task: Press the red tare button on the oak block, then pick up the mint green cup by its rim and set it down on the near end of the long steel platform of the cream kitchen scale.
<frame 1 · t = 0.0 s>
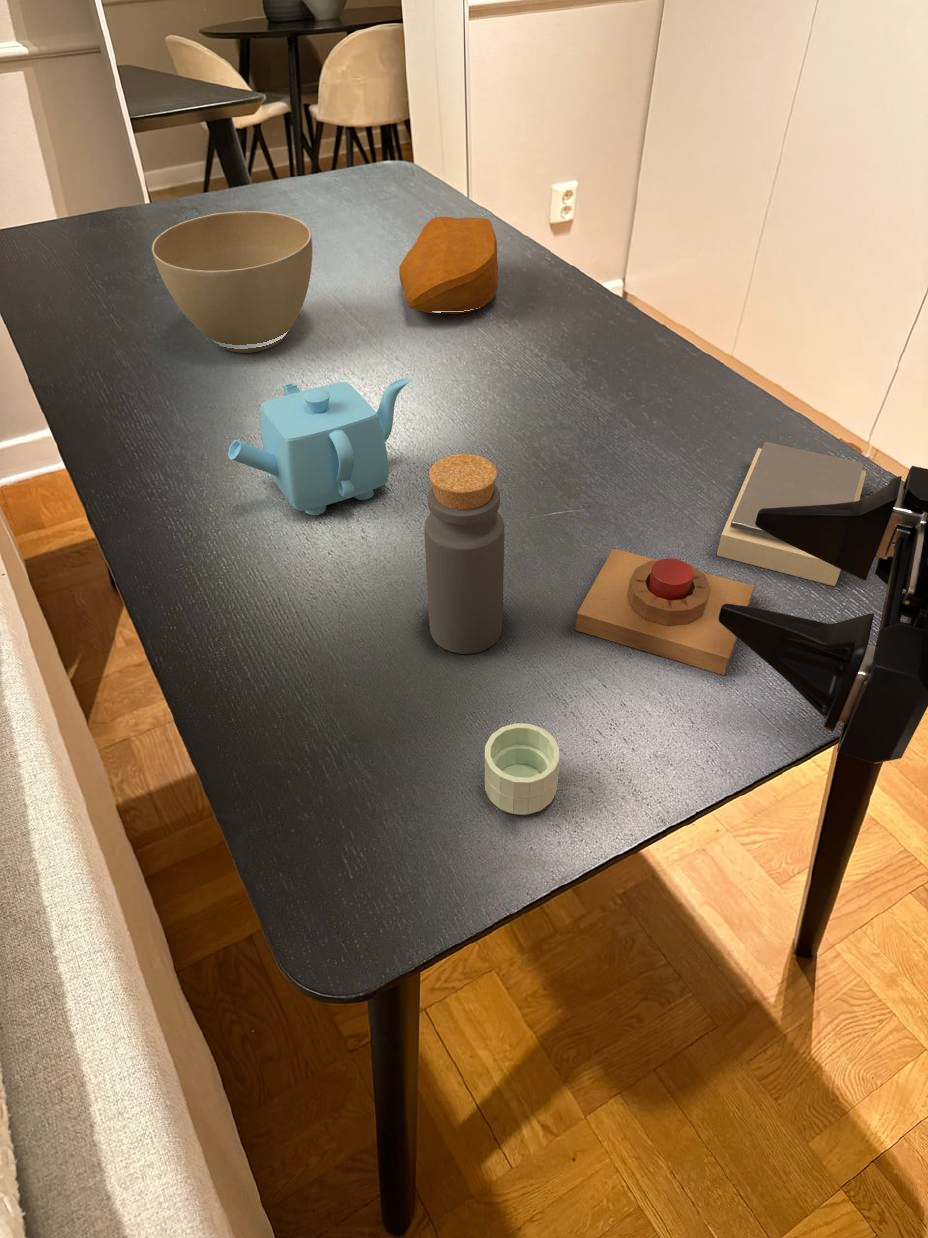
hand: (739, 561, 50), 17 cm above the table, tool horizontal, fingers open, 9 cm apart
bread: (445, 299, 118), on the table
tare button: (670, 579, 69), point 4 cm above the table, slide at 0.1 cm
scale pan: (799, 493, 79), point 3 cm above the table, slide at 0.0 cm
scale: (790, 522, 81), on the table
mint green cup: (520, 789, 60), on the table
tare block: (663, 616, 72), on the table
teapot: (328, 485, 87), on the table
flower pot: (251, 339, 110), on the table
bottle: (466, 631, 72), on the table
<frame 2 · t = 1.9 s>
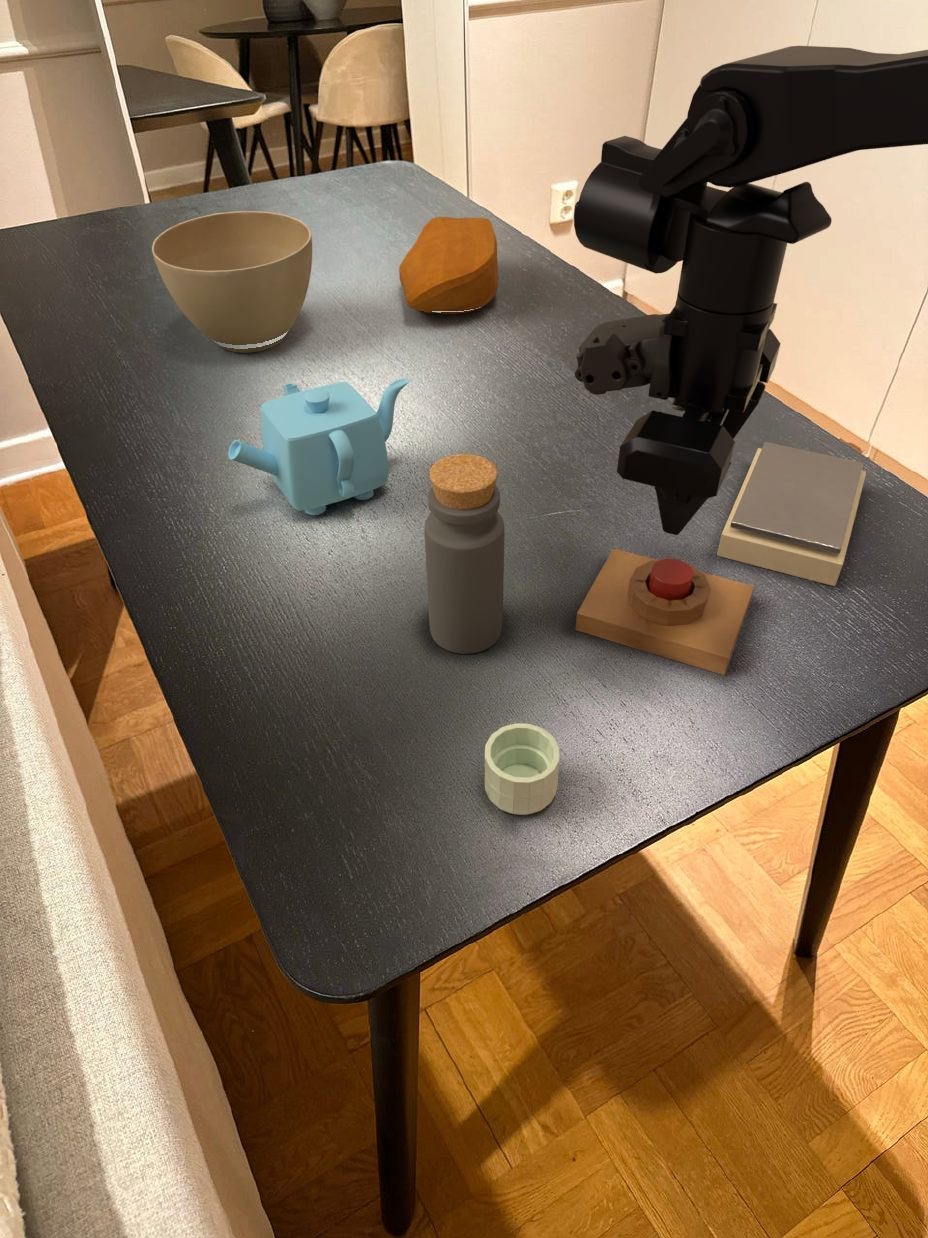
hand: (684, 504, 65), 11 cm above the table, tool pointing down, fingers open, 7 cm apart
nothing on the table moved.
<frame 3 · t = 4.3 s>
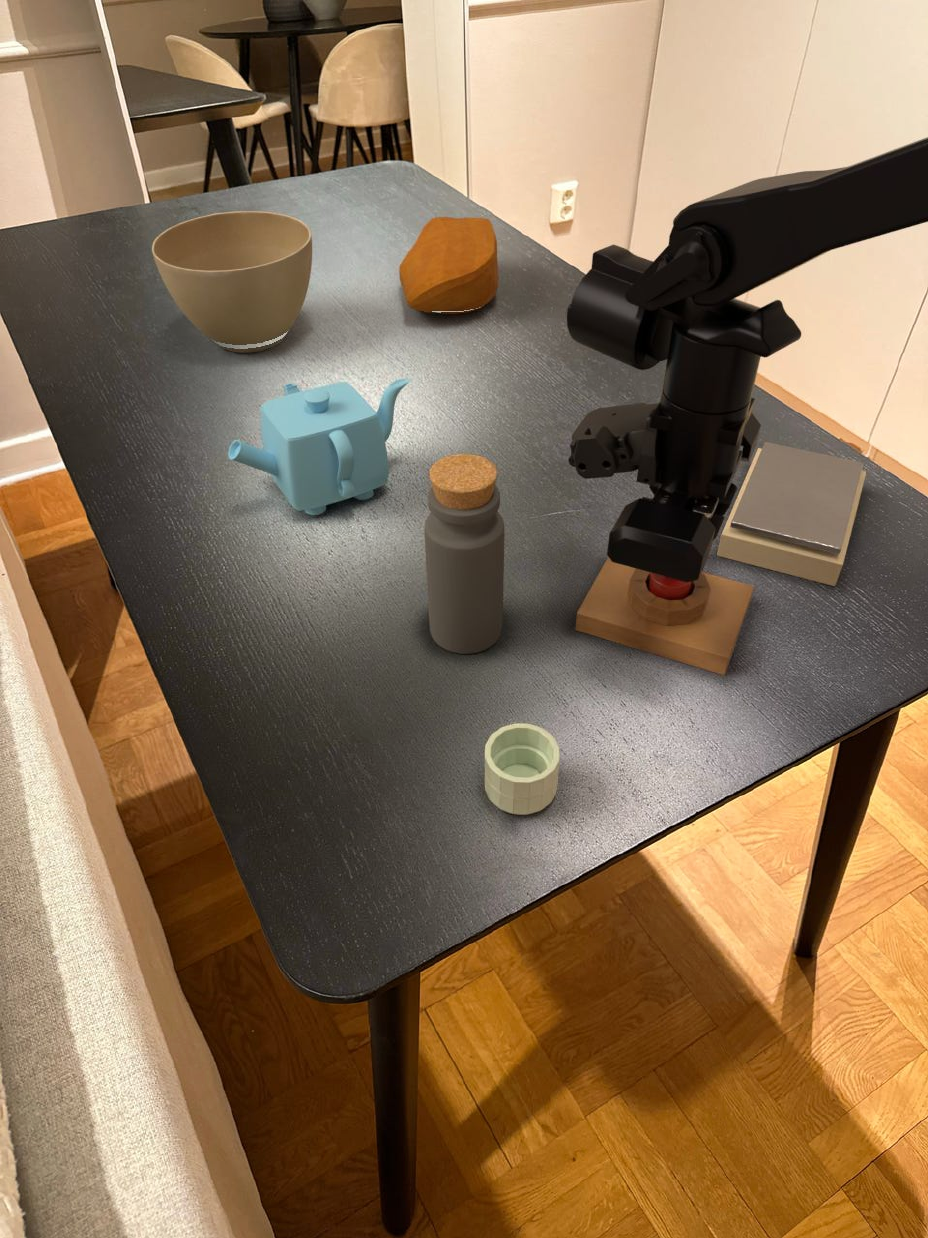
hand: (672, 574, 69), 5 cm above the table, tool pointing down, fingers closed, pressing on tare button
tare button: (670, 582, 70), point 4 cm above the table, slide at -0.2 cm, touching gripper
everything else where it was.
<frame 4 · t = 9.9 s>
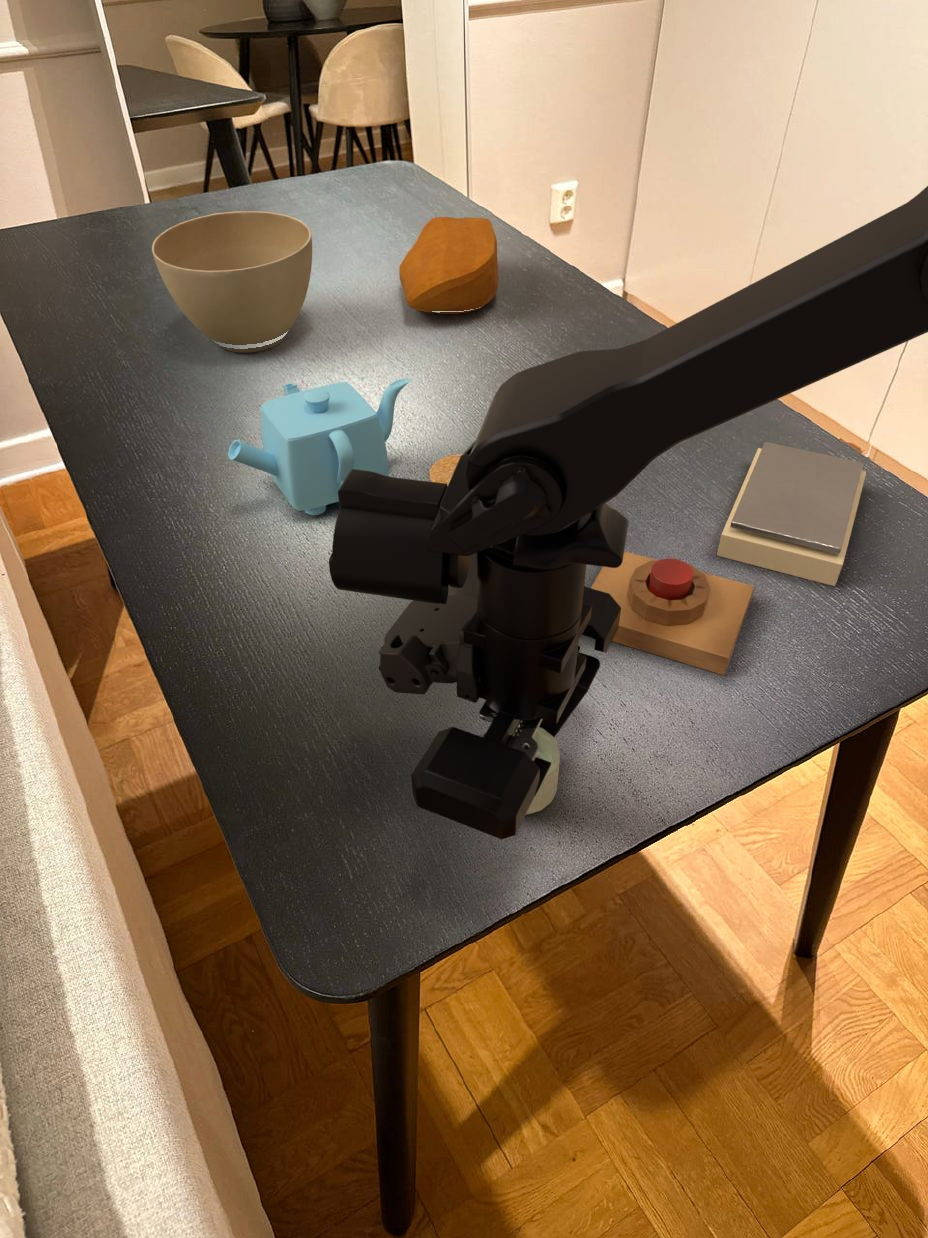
hand: (521, 777, 59), 1 cm above the table, tool pointing down, fingers closed on mint green cup, 5 cm apart
tare button: (670, 579, 69), point 4 cm above the table, slide at 0.1 cm
mint green cup: (520, 789, 60), on the table, touching gripper
everything else where it was.
when the fingers open (5 cm above the table, at t = 15.8 s): mint green cup stays where it is, resting on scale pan.
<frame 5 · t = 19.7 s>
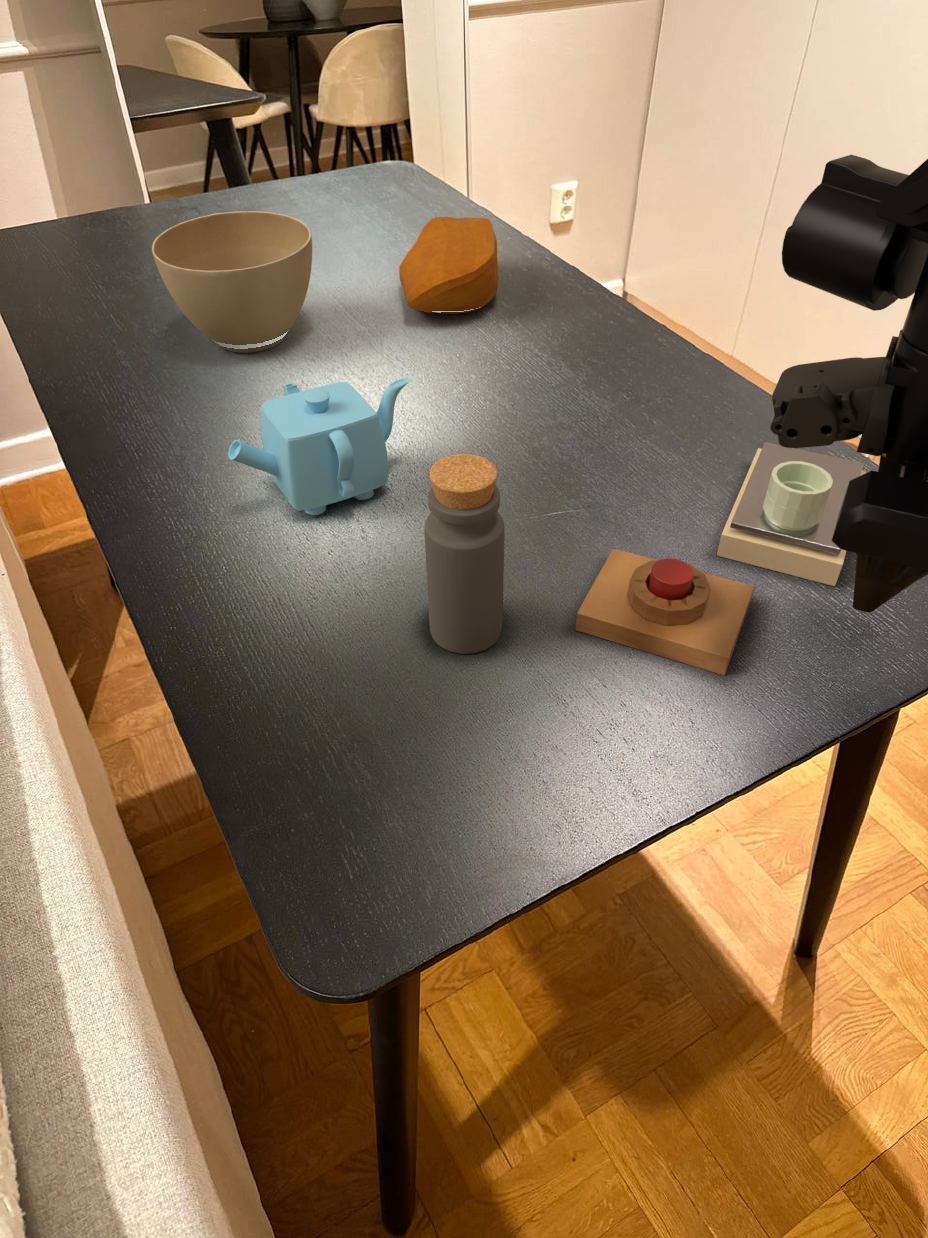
hand: (871, 566, 58), 12 cm above the table, tool pointing down, fingers open, 9 cm apart
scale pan: (799, 494, 79), point 3 cm above the table, slide at 0.0 cm, touching mint green cup
mint green cup: (790, 516, 76), point 3 cm above the table, touching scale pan
everything else where it was.
at the end: tare button pushed in 0.9 cm at the most during the clip, back to where it started at the end; mint green cup 0.6 cm from the target spot on the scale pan, point 0.6 cm above the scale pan's base; mint green cup tilted 0° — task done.
